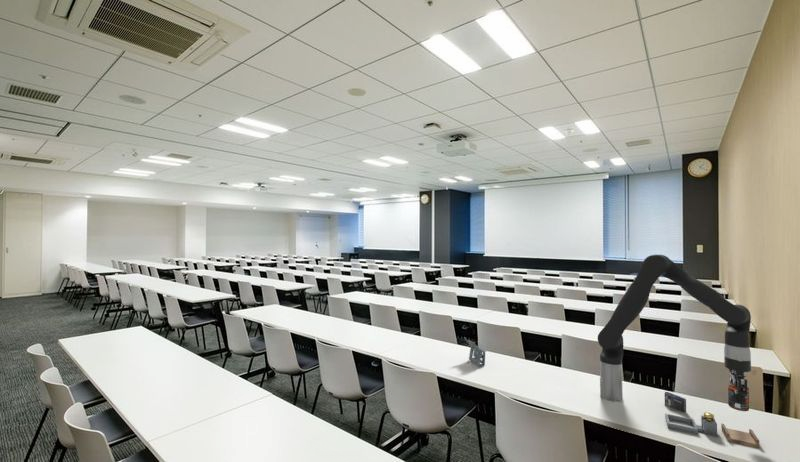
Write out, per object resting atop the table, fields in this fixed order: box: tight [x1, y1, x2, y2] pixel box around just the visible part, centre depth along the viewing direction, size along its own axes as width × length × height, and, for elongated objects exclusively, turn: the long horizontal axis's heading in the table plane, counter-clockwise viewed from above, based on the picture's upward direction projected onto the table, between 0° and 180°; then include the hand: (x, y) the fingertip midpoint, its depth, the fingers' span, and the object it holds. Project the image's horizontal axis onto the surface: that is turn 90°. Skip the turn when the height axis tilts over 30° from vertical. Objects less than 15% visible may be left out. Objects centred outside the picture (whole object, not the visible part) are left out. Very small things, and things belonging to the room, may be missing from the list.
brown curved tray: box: [720, 423, 761, 449], centre depth 138 cm, size 9×9×3 cm
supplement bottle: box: [727, 378, 750, 412], centre depth 139 cm, size 6×6×11 cm
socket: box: [664, 413, 718, 438], centre depth 146 cm, size 16×10×5 cm, turn 58°
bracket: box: [463, 336, 487, 367], centre depth 223 cm, size 13×10×15 cm
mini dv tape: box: [664, 391, 687, 414], centre depth 163 cm, size 8×2×6 cm, turn 21°
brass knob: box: [703, 411, 715, 421], centre depth 143 cm, size 3×3×6 cm
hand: (738, 400), depth 139 cm, fingers closed on supplement bottle, 6 cm apart
